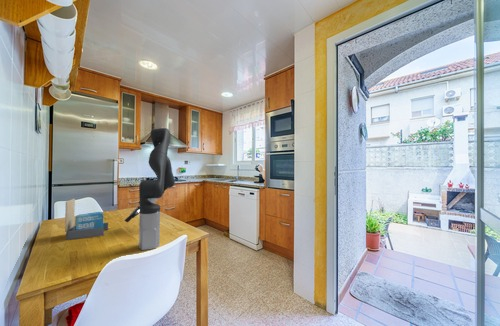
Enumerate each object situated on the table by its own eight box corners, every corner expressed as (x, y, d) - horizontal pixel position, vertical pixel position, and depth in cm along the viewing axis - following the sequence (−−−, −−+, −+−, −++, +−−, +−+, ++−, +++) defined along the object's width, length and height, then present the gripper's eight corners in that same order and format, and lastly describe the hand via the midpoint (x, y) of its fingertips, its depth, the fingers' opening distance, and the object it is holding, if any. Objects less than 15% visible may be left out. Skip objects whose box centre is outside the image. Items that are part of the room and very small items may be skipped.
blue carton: (75, 238, 102) (76, 216, 102) (75, 236, 105) (75, 214, 105) (103, 232, 111) (103, 212, 111) (101, 230, 114) (102, 211, 114)
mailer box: (103, 235, 106) (104, 199, 107) (64, 240, 99) (65, 201, 99) (108, 229, 115) (108, 196, 116) (72, 233, 108) (73, 198, 108)
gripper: (144, 194, 126) (122, 214, 120) (143, 198, 114) (118, 220, 108) (153, 202, 128) (132, 222, 122) (153, 206, 116) (129, 228, 111)
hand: (126, 221), depth 115 cm, fingers closed
